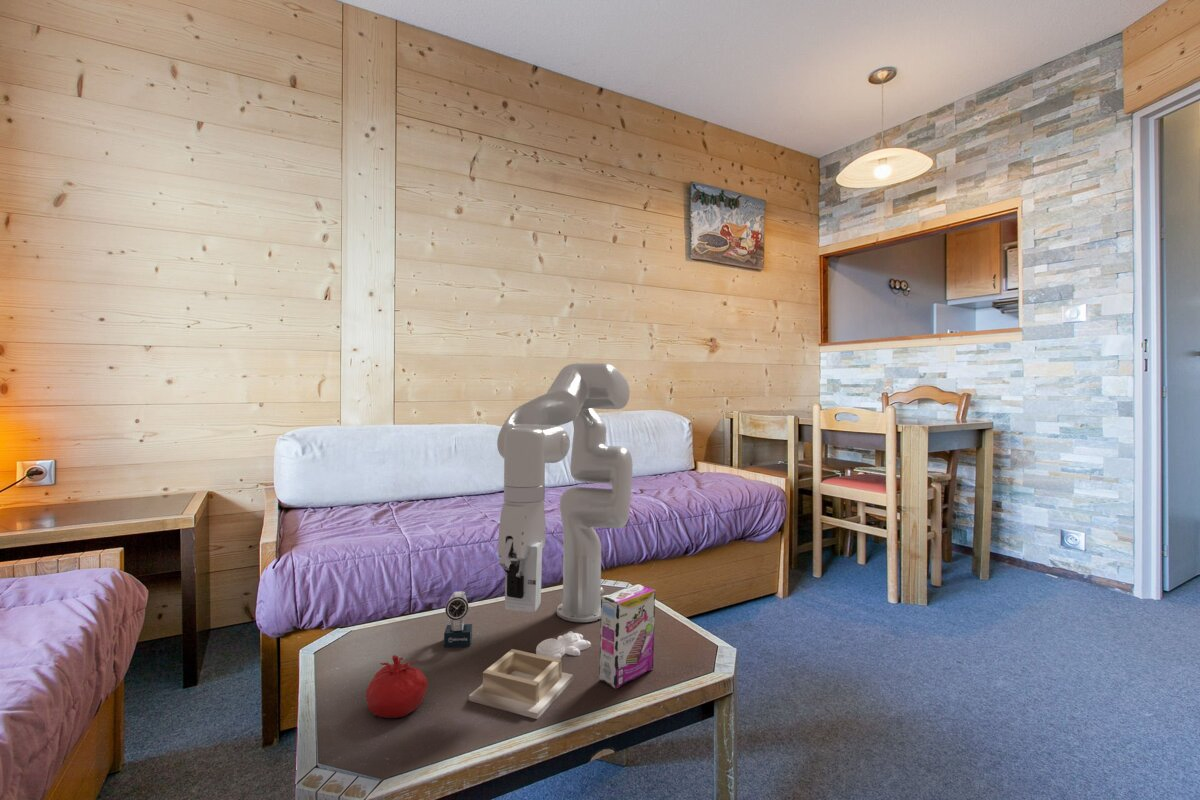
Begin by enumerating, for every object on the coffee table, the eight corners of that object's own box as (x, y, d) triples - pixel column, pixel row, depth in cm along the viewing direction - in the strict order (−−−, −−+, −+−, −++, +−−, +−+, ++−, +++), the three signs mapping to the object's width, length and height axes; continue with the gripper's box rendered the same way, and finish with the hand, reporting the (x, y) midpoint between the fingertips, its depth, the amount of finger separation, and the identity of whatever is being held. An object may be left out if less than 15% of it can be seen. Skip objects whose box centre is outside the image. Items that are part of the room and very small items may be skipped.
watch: (442, 651, 117) (442, 600, 117) (448, 635, 125) (448, 587, 125) (469, 650, 118) (469, 599, 118) (473, 634, 126) (473, 586, 126)
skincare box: (503, 610, 101) (503, 545, 100) (511, 601, 105) (511, 538, 105) (536, 612, 100) (536, 546, 99) (542, 603, 104) (542, 539, 104)
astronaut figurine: (596, 653, 118) (596, 639, 118) (542, 664, 113) (542, 650, 113) (580, 637, 126) (580, 624, 126) (530, 646, 121) (530, 633, 121)
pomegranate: (404, 731, 90) (405, 675, 90) (353, 719, 93) (353, 665, 93) (438, 697, 100) (438, 647, 99) (390, 688, 102) (391, 639, 102)
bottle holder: (510, 665, 112) (511, 643, 112) (573, 679, 106) (573, 656, 106) (469, 700, 99) (469, 675, 99) (537, 719, 93) (537, 693, 93)
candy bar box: (617, 690, 103) (617, 603, 102) (598, 680, 106) (599, 596, 106) (655, 670, 110) (656, 588, 110) (636, 661, 114) (637, 582, 114)
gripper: (530, 485, 111) (529, 575, 112) (480, 500, 96) (479, 604, 96) (563, 488, 108) (562, 580, 109) (517, 504, 93) (516, 611, 93)
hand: (523, 590), depth 102 cm, fingers closed on skincare box, 5 cm apart
